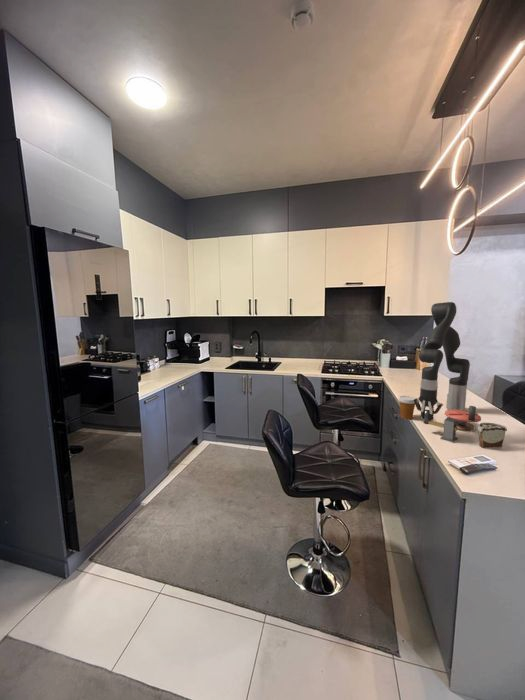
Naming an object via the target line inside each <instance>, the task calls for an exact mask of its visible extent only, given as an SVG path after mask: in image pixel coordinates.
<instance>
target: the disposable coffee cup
mask: <svg viewBox="0 0 525 700" xmlns="http://www.w3.org/2000/svg"><path fill="white" fill-rule="evenodd" d="M414 399H416V397H414V396H410V395H400V396H399V398H398V401H399V411H400V412H399V413H400V418H401V419H403V420H404V419H405V420H412V419H413V417H414V411H415V407H416V405H415V403H414Z"/></svg>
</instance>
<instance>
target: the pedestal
mask: <svg viewBox="0 0 525 700" xmlns="http://www.w3.org/2000/svg"><path fill="white" fill-rule="evenodd" d="M456 427H457V431H462V432H472V431H473V432H474V430H475V426H474V424H473V423H472V422H466V425H460V424H458V420H457V425H456Z"/></svg>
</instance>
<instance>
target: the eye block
mask: <svg viewBox="0 0 525 700" xmlns="http://www.w3.org/2000/svg"><path fill="white" fill-rule="evenodd" d="M443 421H444V422H443V424H444V428H443V432H442V436H440V440H443V441H446V442H449V443H456V441H458V439H459V437H457V435H456V434H457V431H454V426H455V427H456V425H457V419H453V418H449V417H447V416H446V418H445V419H444V420H443Z"/></svg>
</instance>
